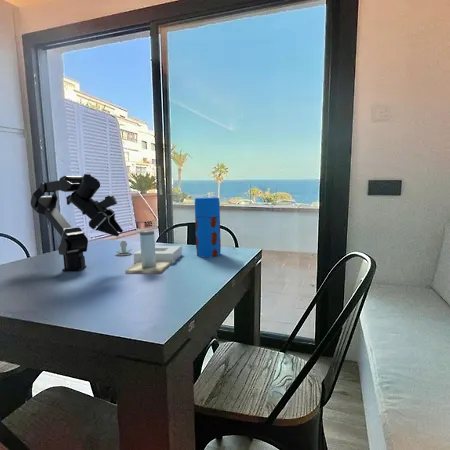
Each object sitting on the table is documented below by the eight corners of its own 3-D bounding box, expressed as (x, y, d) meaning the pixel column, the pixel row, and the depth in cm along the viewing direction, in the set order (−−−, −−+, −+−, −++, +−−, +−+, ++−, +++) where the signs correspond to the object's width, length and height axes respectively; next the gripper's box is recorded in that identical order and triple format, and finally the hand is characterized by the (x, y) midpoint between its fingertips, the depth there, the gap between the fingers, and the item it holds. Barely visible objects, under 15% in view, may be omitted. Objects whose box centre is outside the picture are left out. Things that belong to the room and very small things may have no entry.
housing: (133, 263, 131) (133, 253, 131) (147, 254, 147) (146, 245, 147) (172, 263, 130) (172, 253, 129) (182, 254, 146) (181, 245, 145)
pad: (125, 273, 117) (125, 270, 117) (138, 264, 130) (138, 261, 130) (161, 273, 116) (160, 270, 116) (170, 264, 128) (170, 261, 128)
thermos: (193, 253, 147) (191, 198, 144) (214, 251, 152) (213, 197, 148) (201, 258, 137) (199, 198, 134) (224, 255, 142) (223, 197, 139)
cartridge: (139, 267, 120) (137, 232, 119) (144, 264, 125) (142, 230, 124) (153, 267, 120) (151, 232, 118) (157, 264, 125) (155, 230, 123)
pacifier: (132, 255, 147) (132, 252, 153) (131, 242, 146) (131, 239, 152) (114, 257, 145) (116, 253, 151) (114, 243, 144) (115, 240, 150)
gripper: (96, 188, 108) (132, 220, 111) (107, 188, 127) (138, 215, 130) (73, 213, 108) (110, 244, 111) (87, 209, 126) (118, 235, 129)
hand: (120, 233), depth 120 cm, fingers open, 9 cm apart
